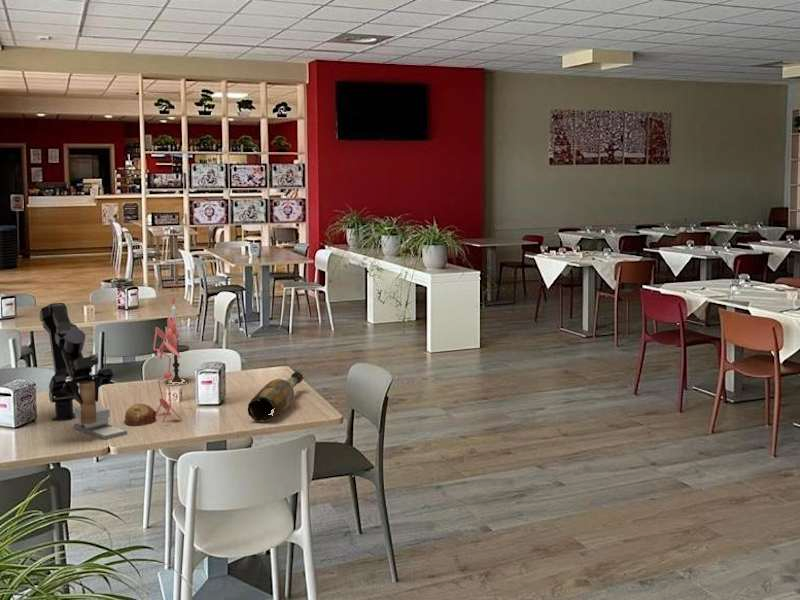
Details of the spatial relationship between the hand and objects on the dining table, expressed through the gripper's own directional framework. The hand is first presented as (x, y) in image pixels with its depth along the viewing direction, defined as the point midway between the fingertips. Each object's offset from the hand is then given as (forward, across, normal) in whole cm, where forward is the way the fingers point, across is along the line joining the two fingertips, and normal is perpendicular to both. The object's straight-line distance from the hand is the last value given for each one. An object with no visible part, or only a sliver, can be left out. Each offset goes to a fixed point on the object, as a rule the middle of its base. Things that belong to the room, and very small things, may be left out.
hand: (89, 402), depth 268 cm
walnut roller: (+4, 0, +6) cm, 7 cm away
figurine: (+3, +33, +15) cm, 36 cm away
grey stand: (+3, +6, +15) cm, 16 cm away
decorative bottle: (+12, +67, +6) cm, 68 cm away
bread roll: (+2, +20, +17) cm, 26 cm away
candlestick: (-29, +54, +47) cm, 77 cm away
